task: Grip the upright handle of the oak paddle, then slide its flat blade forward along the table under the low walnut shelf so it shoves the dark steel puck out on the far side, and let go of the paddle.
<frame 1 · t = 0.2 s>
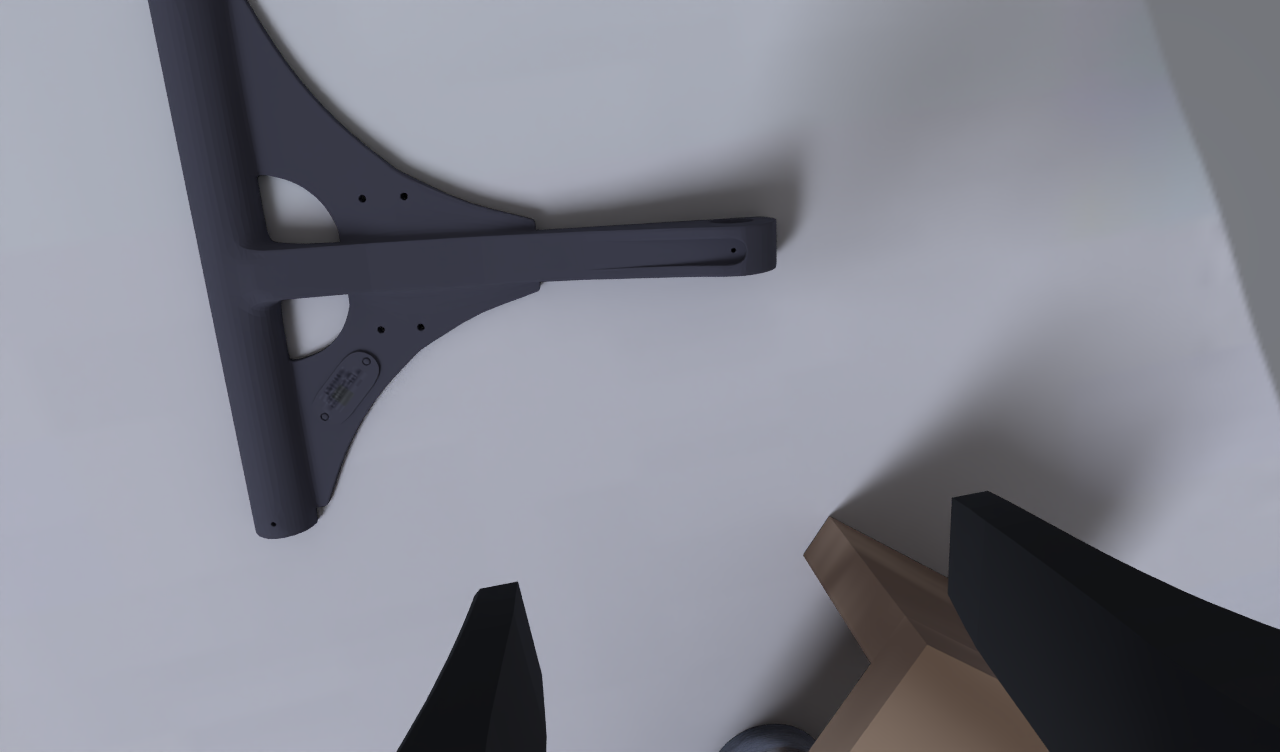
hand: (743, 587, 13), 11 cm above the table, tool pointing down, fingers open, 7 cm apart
bracket: (498, 256, 22), on the table
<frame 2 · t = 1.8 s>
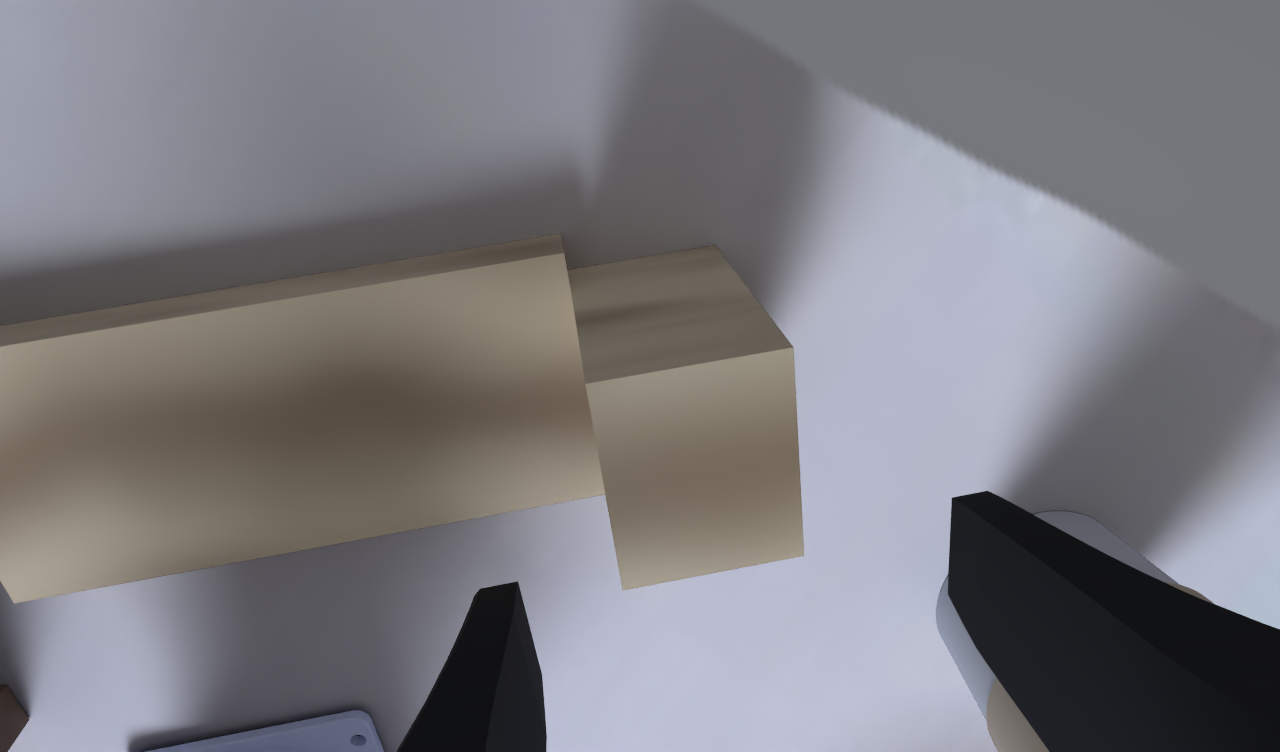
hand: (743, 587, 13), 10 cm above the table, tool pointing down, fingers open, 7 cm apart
coffee cup: (1024, 588, 29), on the table
oak paddle: (653, 342, 23), on the table
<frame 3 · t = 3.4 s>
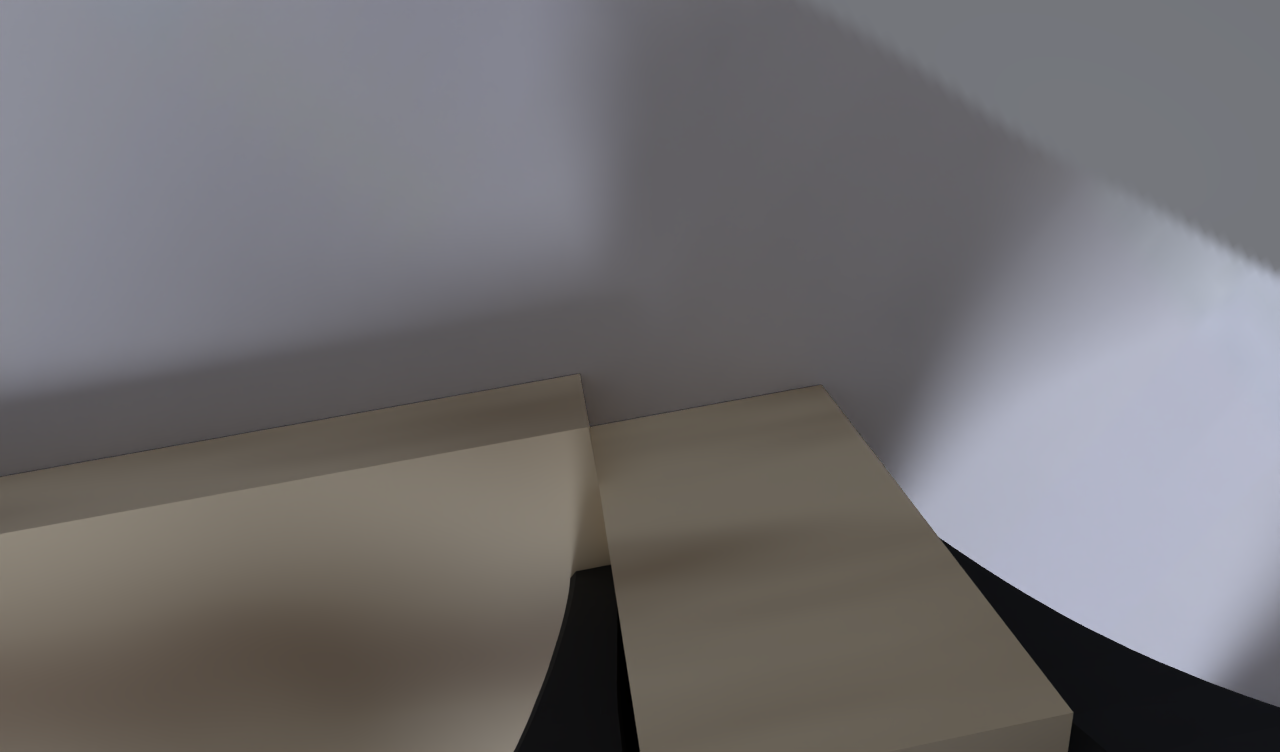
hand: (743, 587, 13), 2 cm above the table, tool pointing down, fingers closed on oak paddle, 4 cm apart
oak paddle: (719, 525, 15), on the table, touching gripper
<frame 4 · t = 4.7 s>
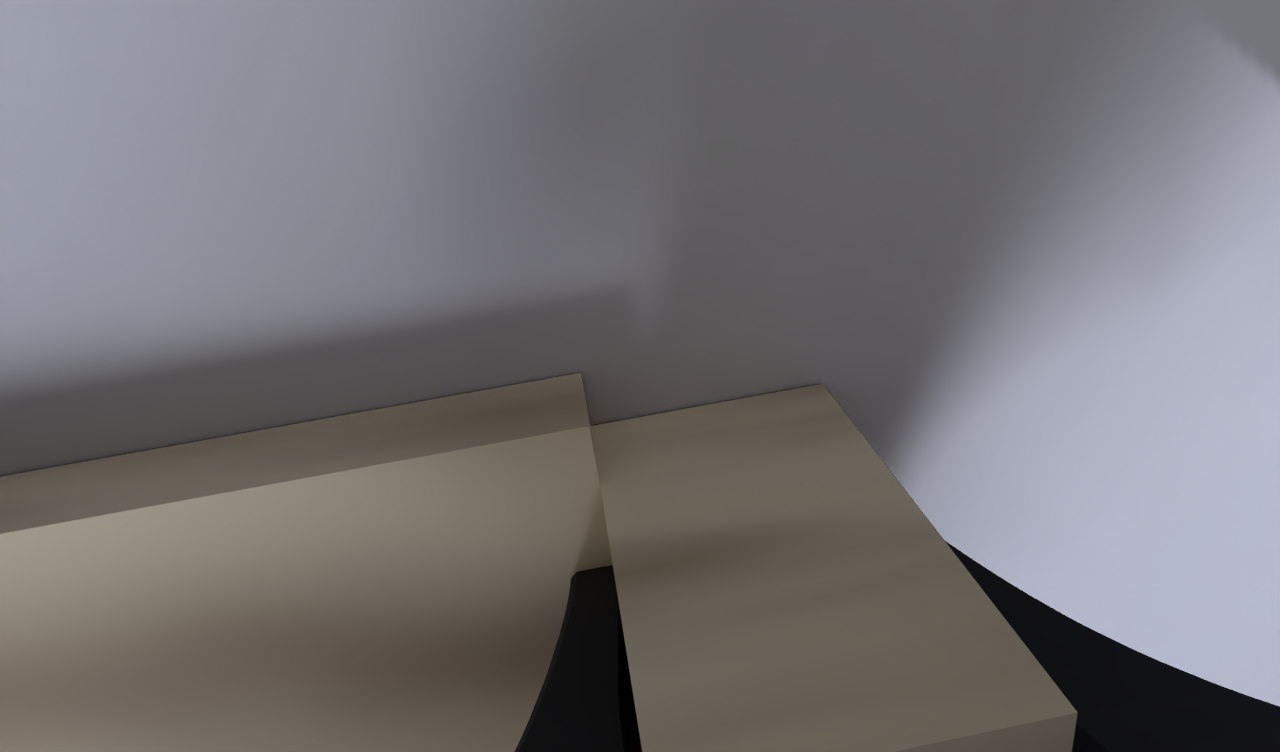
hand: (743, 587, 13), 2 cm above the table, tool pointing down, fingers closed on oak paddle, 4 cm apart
oak paddle: (721, 524, 15), on the table, touching gripper, steel puck
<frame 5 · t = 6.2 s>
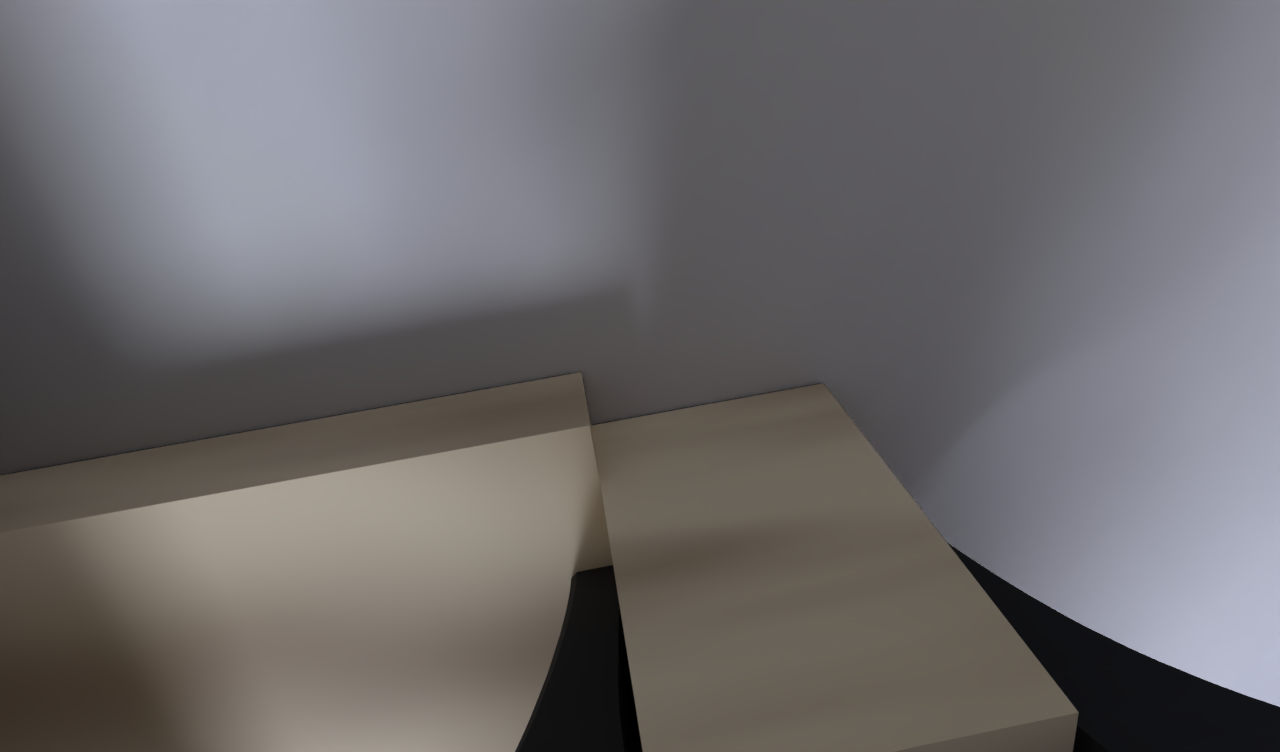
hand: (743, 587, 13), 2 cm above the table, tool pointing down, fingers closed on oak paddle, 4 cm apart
oak paddle: (721, 524, 15), on the table, touching gripper, steel puck
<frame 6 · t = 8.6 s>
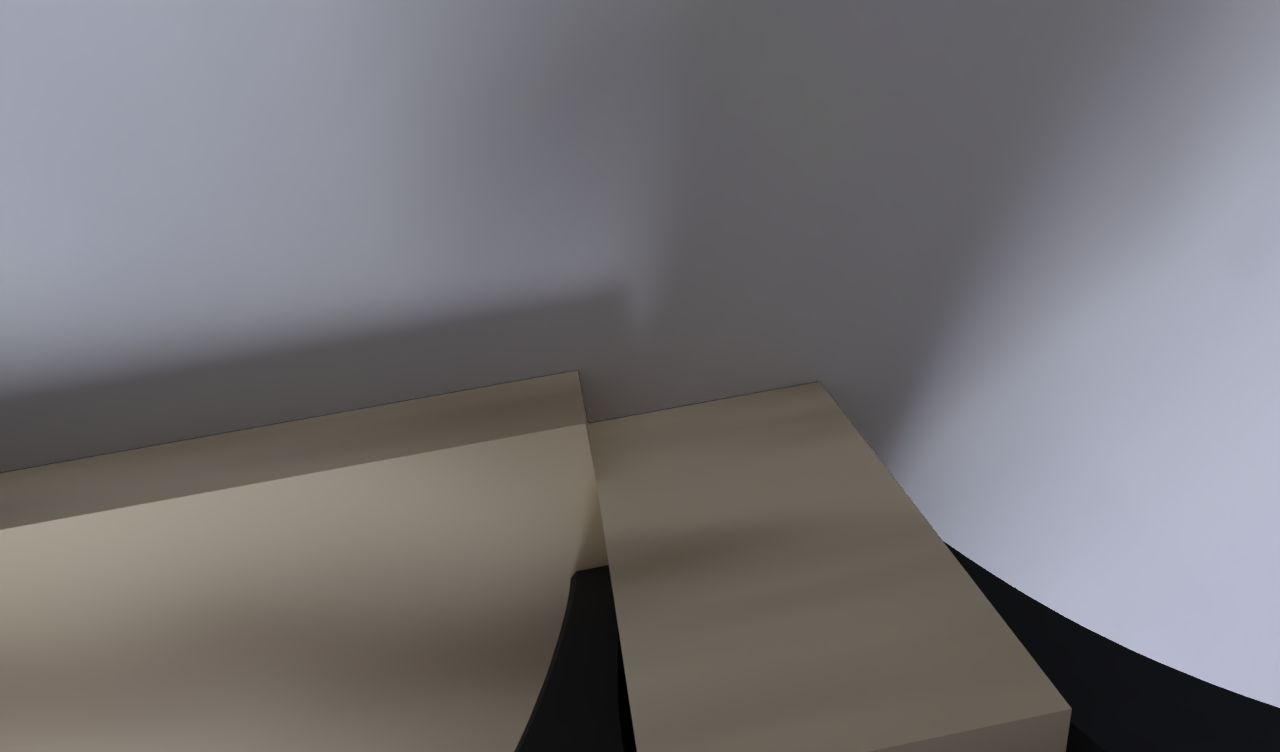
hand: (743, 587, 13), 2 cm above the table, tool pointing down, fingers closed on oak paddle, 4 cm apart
oak paddle: (718, 522, 15), on the table, touching gripper
when the fingers open (2 cm above the table, at t = 9.0 s): oak paddle stays where it is, on the table.
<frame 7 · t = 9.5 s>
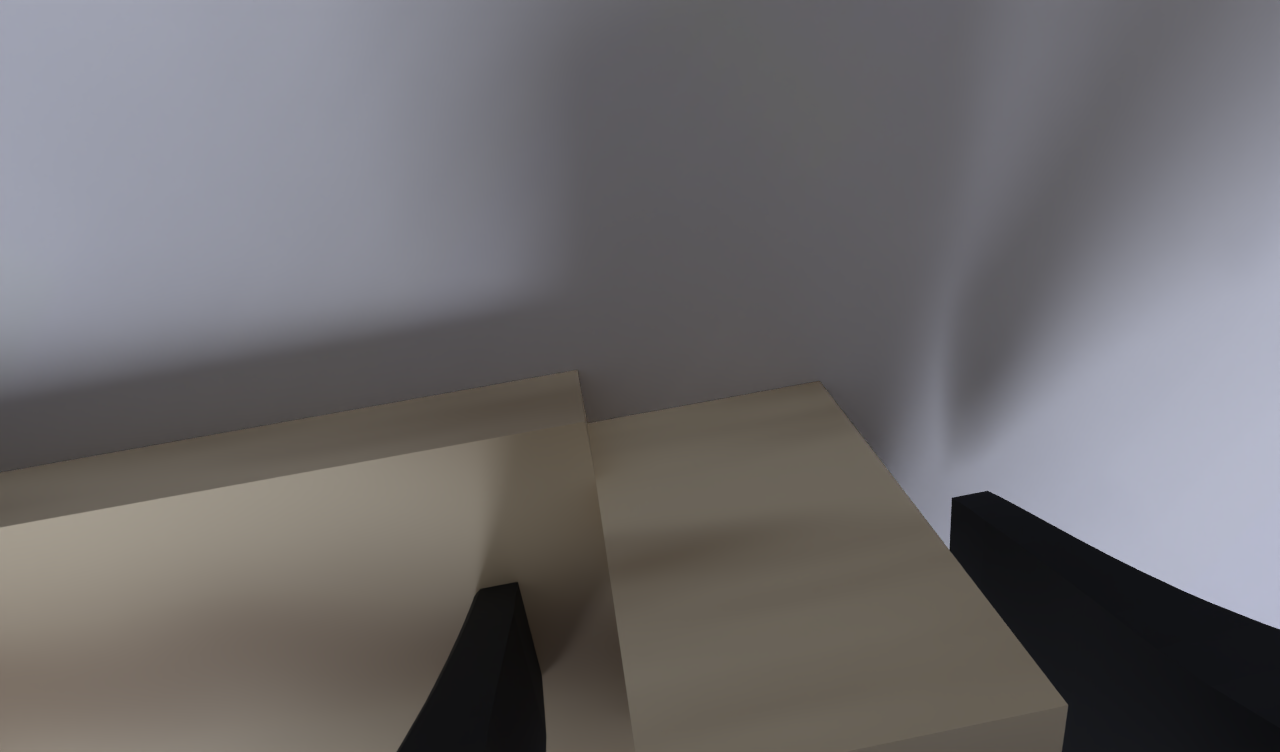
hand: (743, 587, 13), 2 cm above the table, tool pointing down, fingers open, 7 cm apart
oak paddle: (717, 521, 15), on the table, touching gripper
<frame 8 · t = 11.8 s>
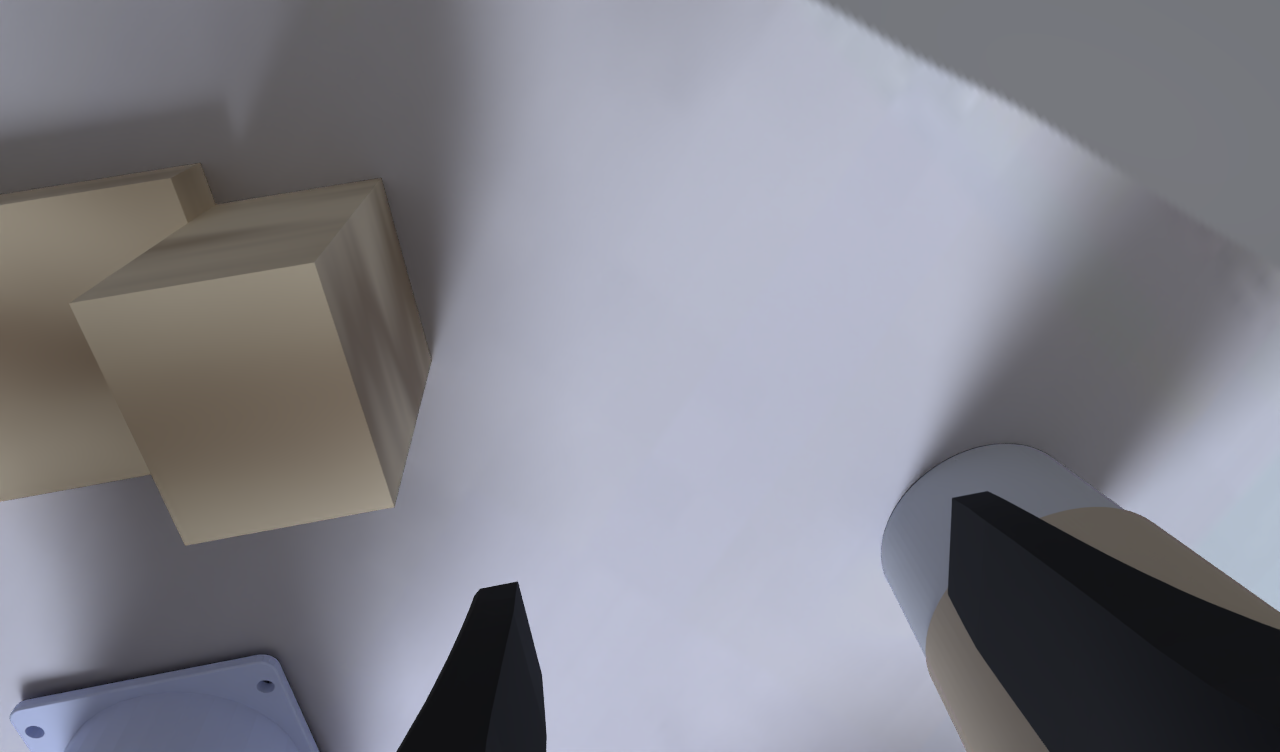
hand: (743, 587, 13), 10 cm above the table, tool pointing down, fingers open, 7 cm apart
coffee cup: (975, 529, 27), on the table
oak paddle: (330, 287, 21), on the table
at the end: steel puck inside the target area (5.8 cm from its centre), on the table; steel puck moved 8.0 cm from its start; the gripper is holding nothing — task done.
